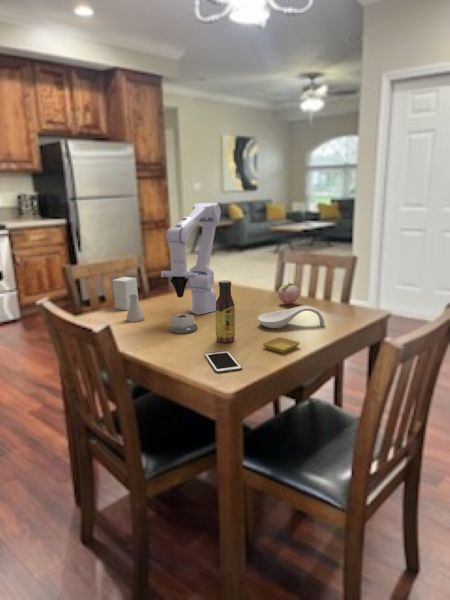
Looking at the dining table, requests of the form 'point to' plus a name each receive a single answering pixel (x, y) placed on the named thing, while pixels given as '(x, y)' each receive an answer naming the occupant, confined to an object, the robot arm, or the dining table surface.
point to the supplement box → (124, 291)
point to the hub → (183, 330)
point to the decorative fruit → (288, 293)
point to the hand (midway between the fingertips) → (180, 296)
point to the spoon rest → (286, 317)
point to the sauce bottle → (225, 313)
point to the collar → (182, 321)
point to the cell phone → (223, 362)
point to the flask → (134, 310)
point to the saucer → (278, 347)
